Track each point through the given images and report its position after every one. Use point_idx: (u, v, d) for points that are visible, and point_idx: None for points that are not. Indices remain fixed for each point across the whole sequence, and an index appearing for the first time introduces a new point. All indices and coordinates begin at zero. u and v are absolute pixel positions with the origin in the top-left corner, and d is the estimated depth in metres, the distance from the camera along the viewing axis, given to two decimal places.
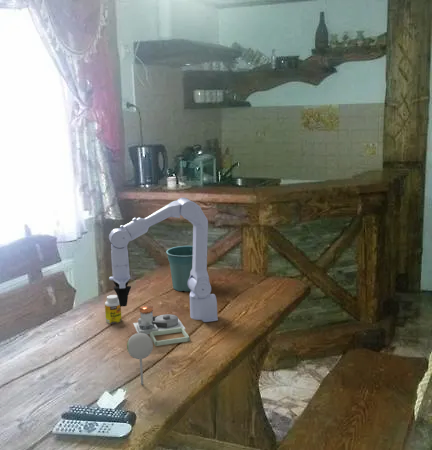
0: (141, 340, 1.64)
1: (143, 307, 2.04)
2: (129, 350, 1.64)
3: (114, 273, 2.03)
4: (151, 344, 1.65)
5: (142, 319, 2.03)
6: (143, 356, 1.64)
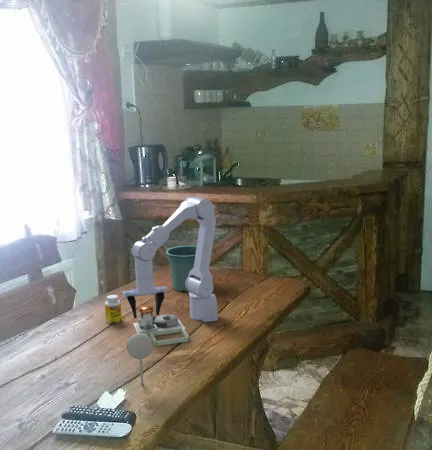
0: (141, 340, 1.64)
1: (143, 307, 2.04)
2: (129, 350, 1.64)
3: None
4: (151, 344, 1.65)
5: (142, 319, 2.03)
6: (143, 356, 1.64)
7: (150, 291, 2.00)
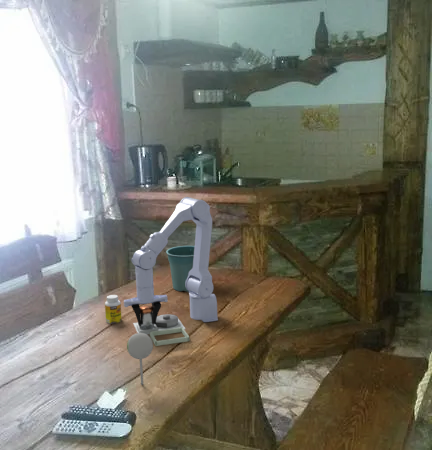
0: (141, 340, 1.64)
1: (143, 307, 2.04)
2: (129, 350, 1.64)
3: None
4: (151, 344, 1.65)
5: (142, 319, 2.03)
6: (143, 356, 1.64)
7: (151, 300, 2.01)
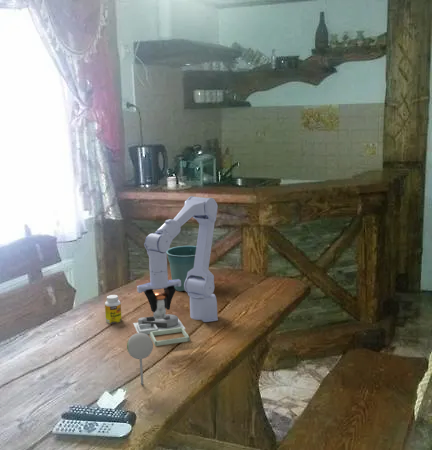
0: (141, 340, 1.64)
1: (157, 294, 1.97)
2: (129, 350, 1.64)
3: None
4: (151, 344, 1.65)
5: (156, 306, 1.97)
6: (143, 356, 1.64)
7: (165, 284, 1.95)
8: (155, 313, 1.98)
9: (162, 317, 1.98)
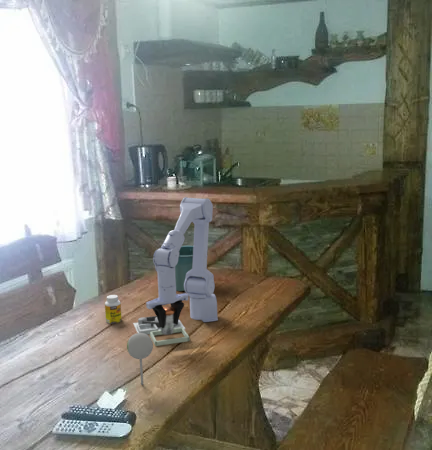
0: (141, 340, 1.64)
1: None
2: (129, 350, 1.64)
3: None
4: (151, 344, 1.65)
5: (165, 321, 1.95)
6: (143, 356, 1.64)
7: (175, 299, 1.94)
8: (164, 328, 1.96)
9: (171, 332, 1.97)
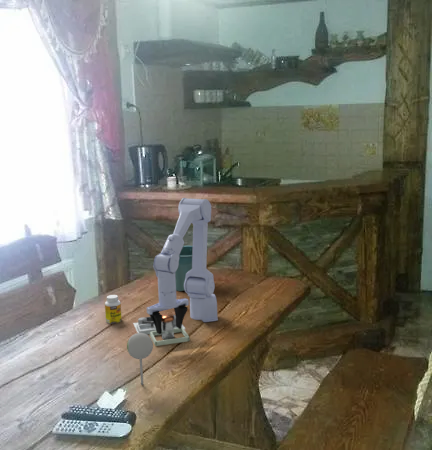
0: (141, 340, 1.64)
1: (164, 316, 1.97)
2: (129, 350, 1.64)
3: None
4: (151, 344, 1.65)
5: (165, 328, 1.96)
6: (143, 356, 1.64)
7: (175, 304, 1.94)
8: (164, 336, 1.97)
9: None
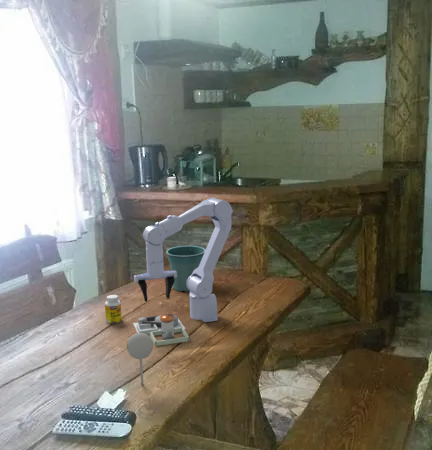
0: (141, 340, 1.64)
1: (164, 316, 1.97)
2: (129, 350, 1.64)
3: None
4: (151, 344, 1.65)
5: (165, 328, 1.96)
6: (143, 356, 1.64)
7: (161, 275, 2.04)
8: (164, 336, 1.97)
9: None
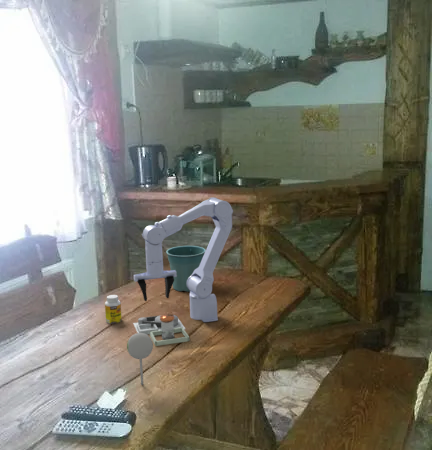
0: (141, 340, 1.64)
1: (164, 316, 1.97)
2: (129, 350, 1.64)
3: None
4: (151, 344, 1.65)
5: (165, 328, 1.96)
6: (143, 356, 1.64)
7: (160, 274, 2.05)
8: (164, 336, 1.97)
9: None
